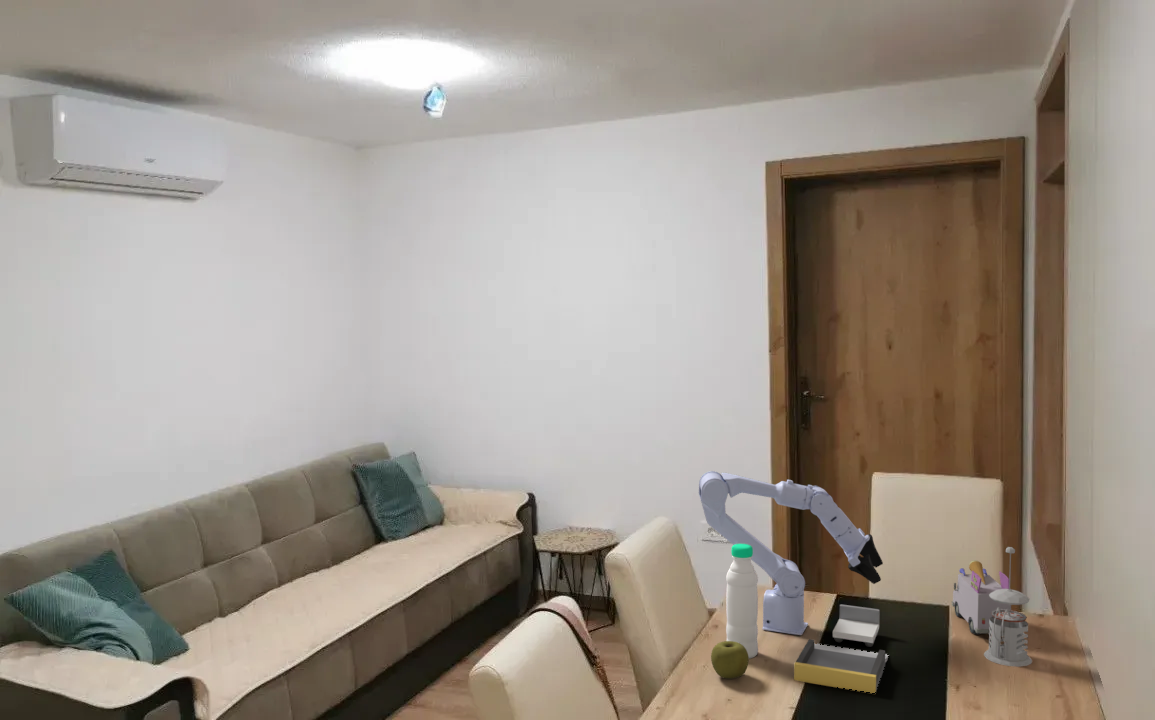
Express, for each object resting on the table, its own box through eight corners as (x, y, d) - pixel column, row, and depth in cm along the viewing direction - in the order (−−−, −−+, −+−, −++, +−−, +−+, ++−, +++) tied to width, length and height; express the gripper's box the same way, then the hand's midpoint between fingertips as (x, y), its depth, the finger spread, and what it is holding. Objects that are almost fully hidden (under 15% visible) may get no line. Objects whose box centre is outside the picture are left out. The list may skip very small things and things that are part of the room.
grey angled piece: (832, 643, 214) (832, 617, 214) (840, 628, 223) (840, 604, 223) (872, 649, 211) (873, 623, 210) (879, 634, 220) (879, 609, 219)
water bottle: (761, 650, 211) (761, 543, 209) (753, 662, 204) (753, 551, 202) (730, 646, 214) (730, 539, 212) (722, 657, 207) (722, 547, 205)
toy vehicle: (986, 612, 233) (987, 554, 232) (1015, 642, 214) (1016, 578, 213) (948, 611, 234) (949, 553, 233) (973, 641, 215) (974, 578, 214)
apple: (704, 673, 199) (704, 641, 198) (736, 667, 202) (736, 635, 201) (723, 687, 192) (723, 653, 191) (755, 680, 195) (756, 647, 194)
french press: (1038, 656, 205) (1041, 546, 204) (1021, 673, 197) (1024, 558, 195) (992, 645, 212) (995, 538, 210) (973, 660, 204) (976, 549, 202)
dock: (794, 683, 195) (794, 664, 194) (815, 646, 215) (815, 628, 214) (875, 697, 188) (875, 677, 187) (889, 657, 208) (889, 639, 207)
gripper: (853, 536, 213) (890, 581, 213) (858, 508, 226) (893, 550, 226) (828, 550, 217) (865, 595, 217) (835, 521, 229) (869, 563, 230)
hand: (878, 573), depth 222 cm, fingers open, 7 cm apart
